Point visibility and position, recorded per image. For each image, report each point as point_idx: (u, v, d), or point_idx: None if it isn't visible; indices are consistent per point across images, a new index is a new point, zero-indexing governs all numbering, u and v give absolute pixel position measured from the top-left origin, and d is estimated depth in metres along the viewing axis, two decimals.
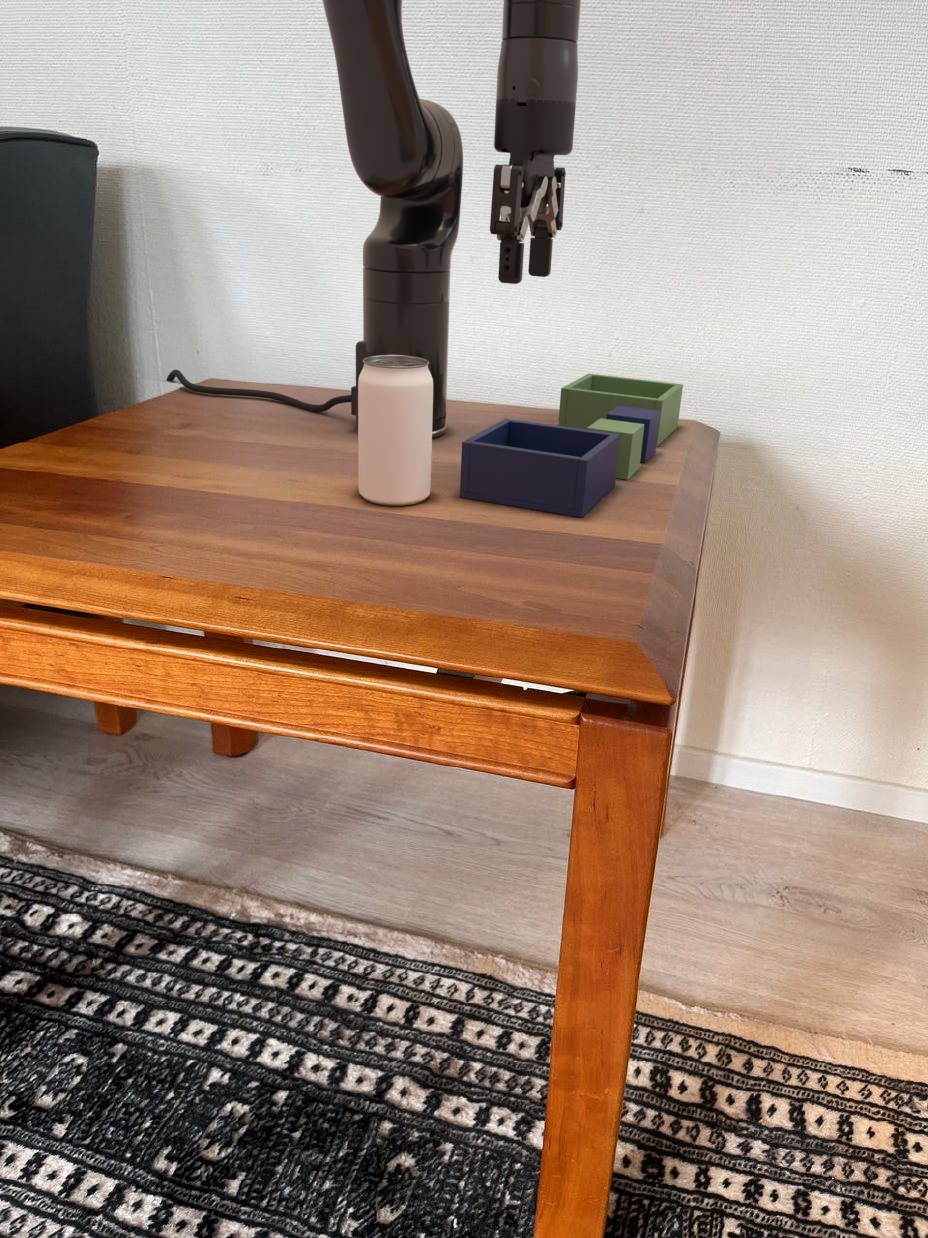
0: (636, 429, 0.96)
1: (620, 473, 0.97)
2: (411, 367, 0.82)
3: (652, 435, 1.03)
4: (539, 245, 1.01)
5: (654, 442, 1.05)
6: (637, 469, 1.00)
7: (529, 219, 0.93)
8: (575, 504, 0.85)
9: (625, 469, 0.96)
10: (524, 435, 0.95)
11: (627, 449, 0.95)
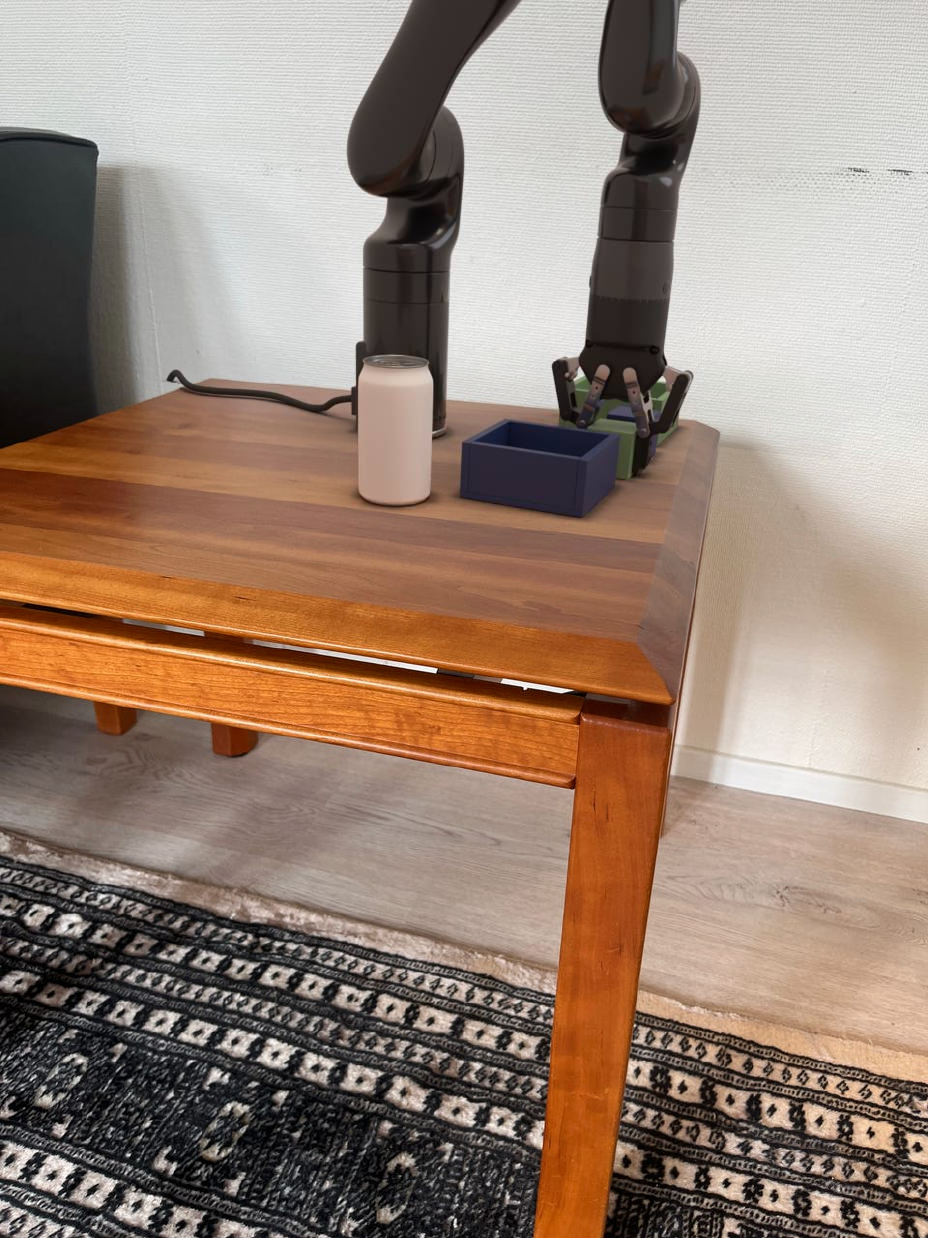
0: (636, 429, 0.96)
1: (620, 473, 0.97)
2: (411, 367, 0.82)
3: None
4: None
5: (654, 442, 1.05)
6: None
7: (590, 408, 0.96)
8: (575, 504, 0.85)
9: (625, 469, 0.96)
10: (524, 435, 0.95)
11: (627, 449, 0.95)
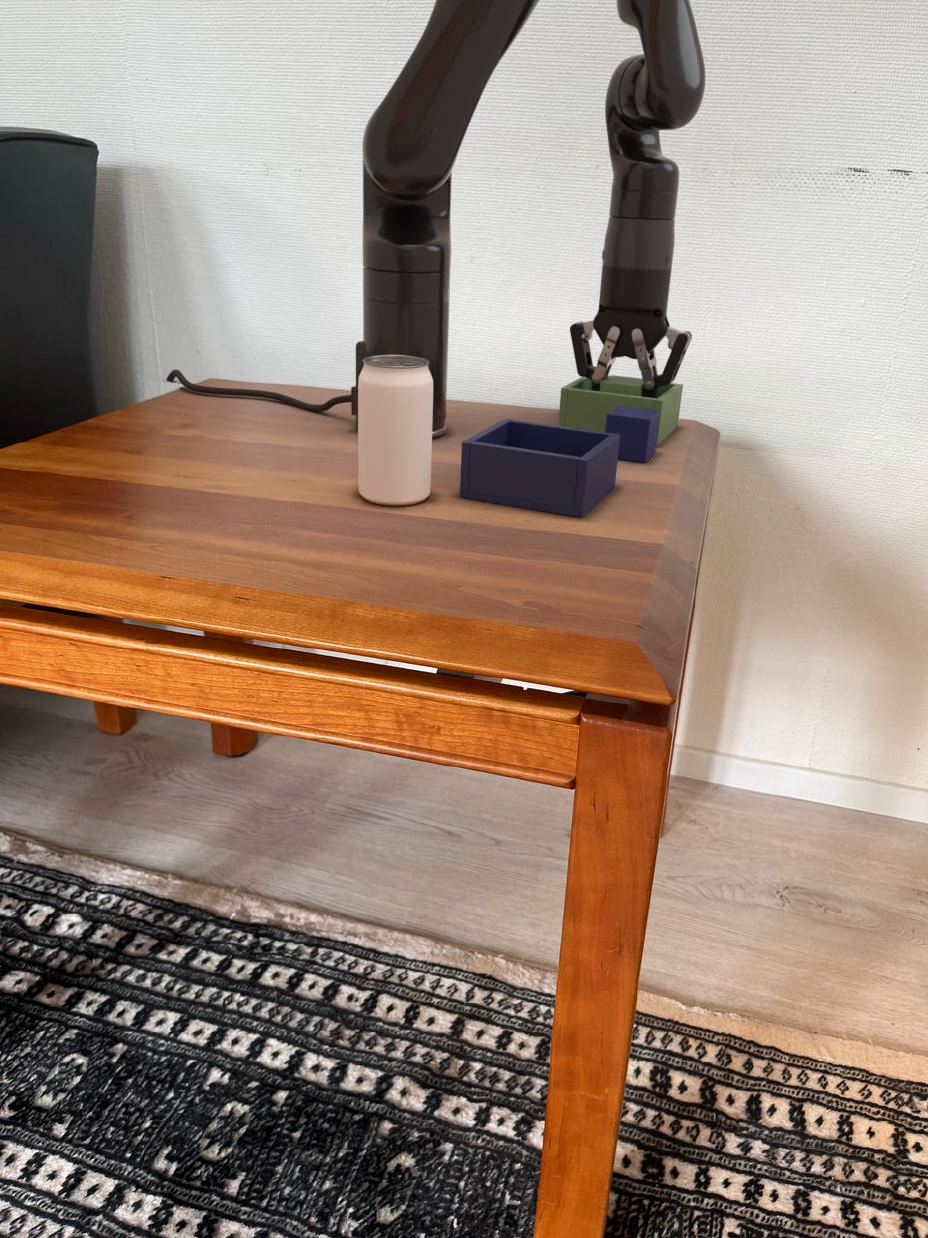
0: None
1: None
2: (411, 367, 0.82)
3: (652, 435, 1.03)
4: None
5: (654, 442, 1.05)
6: None
7: (603, 364, 1.12)
8: (575, 504, 0.85)
9: None
10: (524, 435, 0.95)
11: None
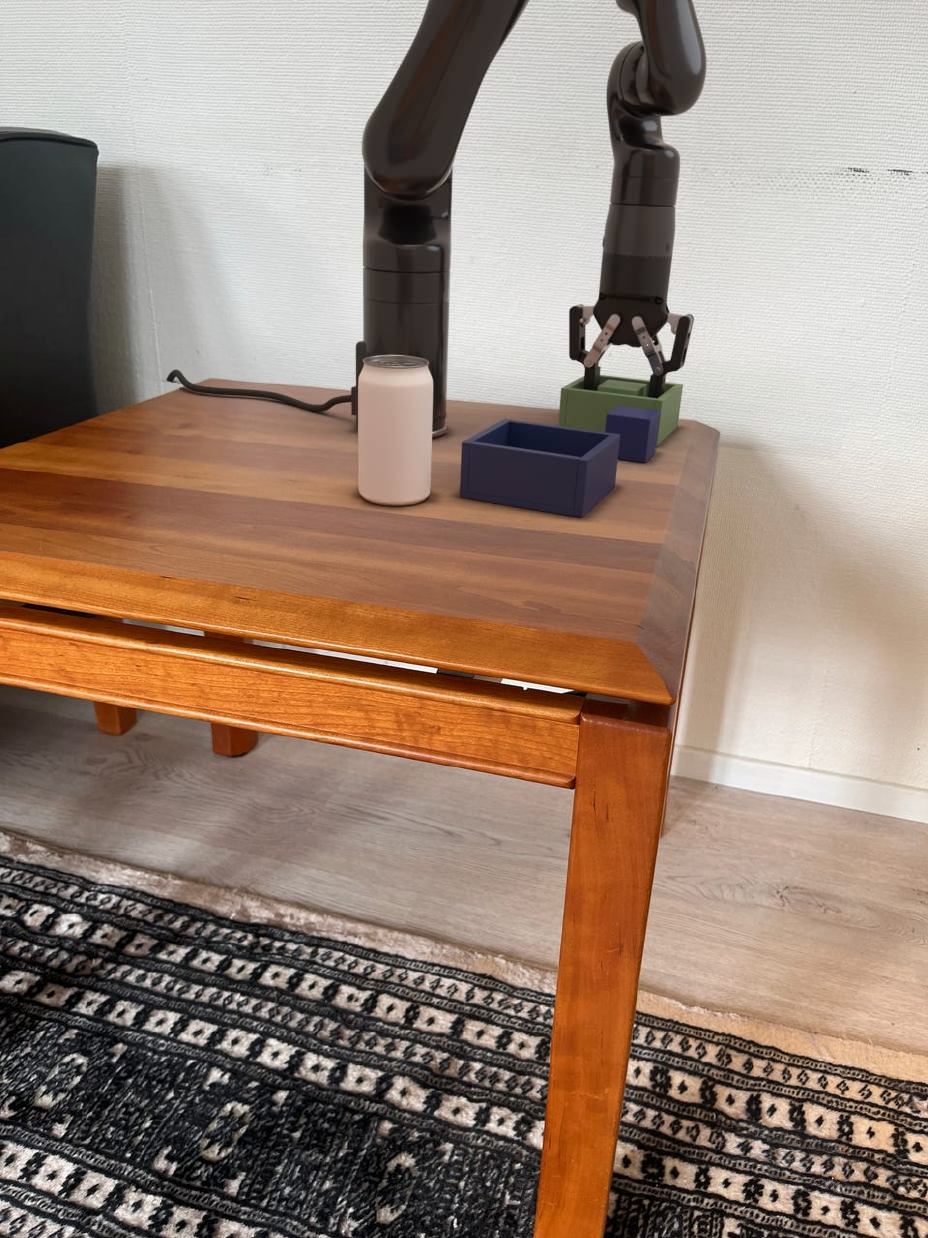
0: (640, 387, 1.12)
1: None
2: (411, 367, 0.82)
3: (652, 435, 1.03)
4: None
5: (654, 442, 1.05)
6: None
7: (597, 350, 1.12)
8: (575, 504, 0.85)
9: None
10: (524, 435, 0.95)
11: None
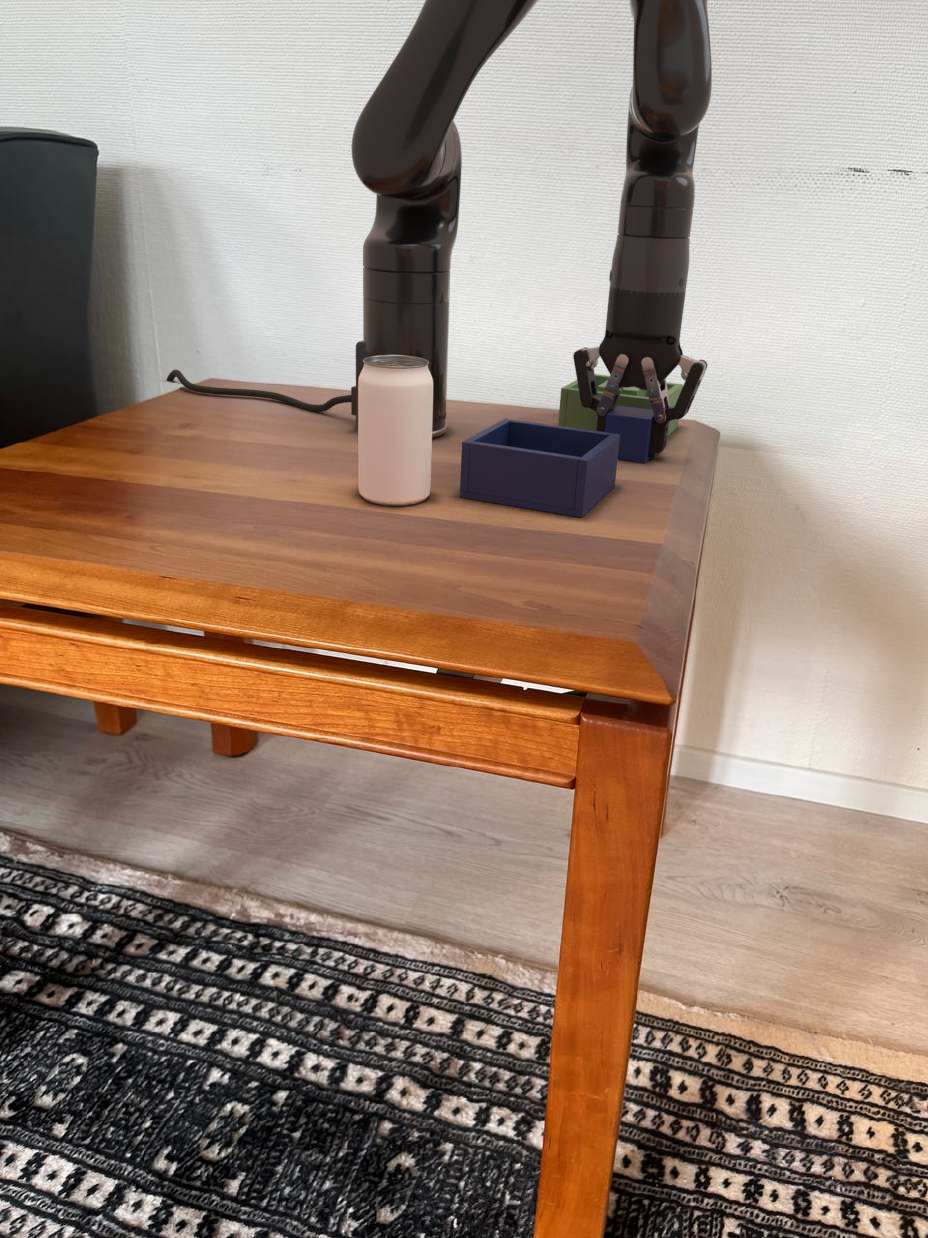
0: None
1: None
2: (411, 367, 0.82)
3: None
4: None
5: None
6: None
7: (609, 395, 1.02)
8: (575, 504, 0.85)
9: None
10: (524, 435, 0.95)
11: None
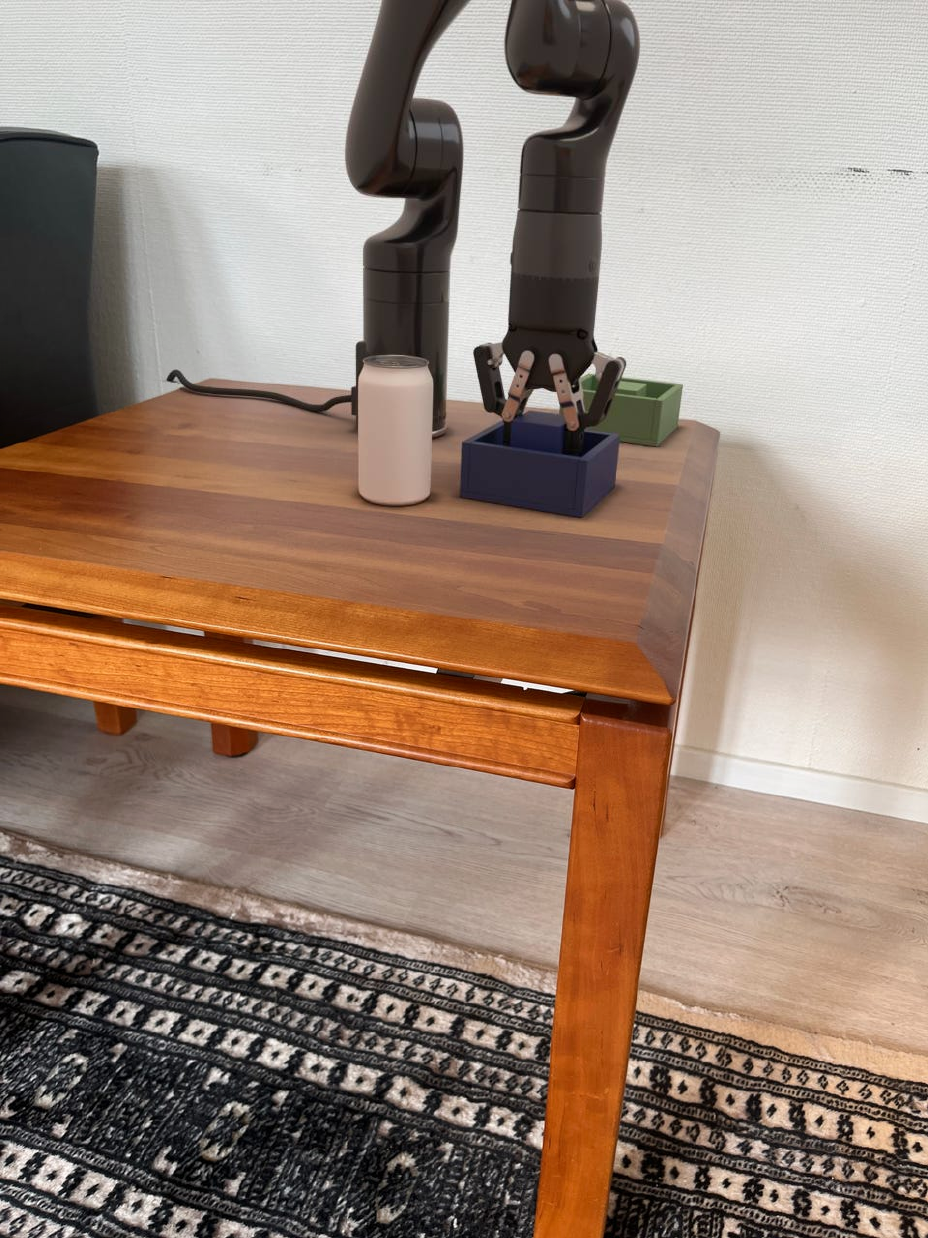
0: (640, 387, 1.12)
1: None
2: (411, 367, 0.82)
3: None
4: None
5: None
6: None
7: (515, 398, 0.88)
8: (575, 504, 0.85)
9: None
10: None
11: None
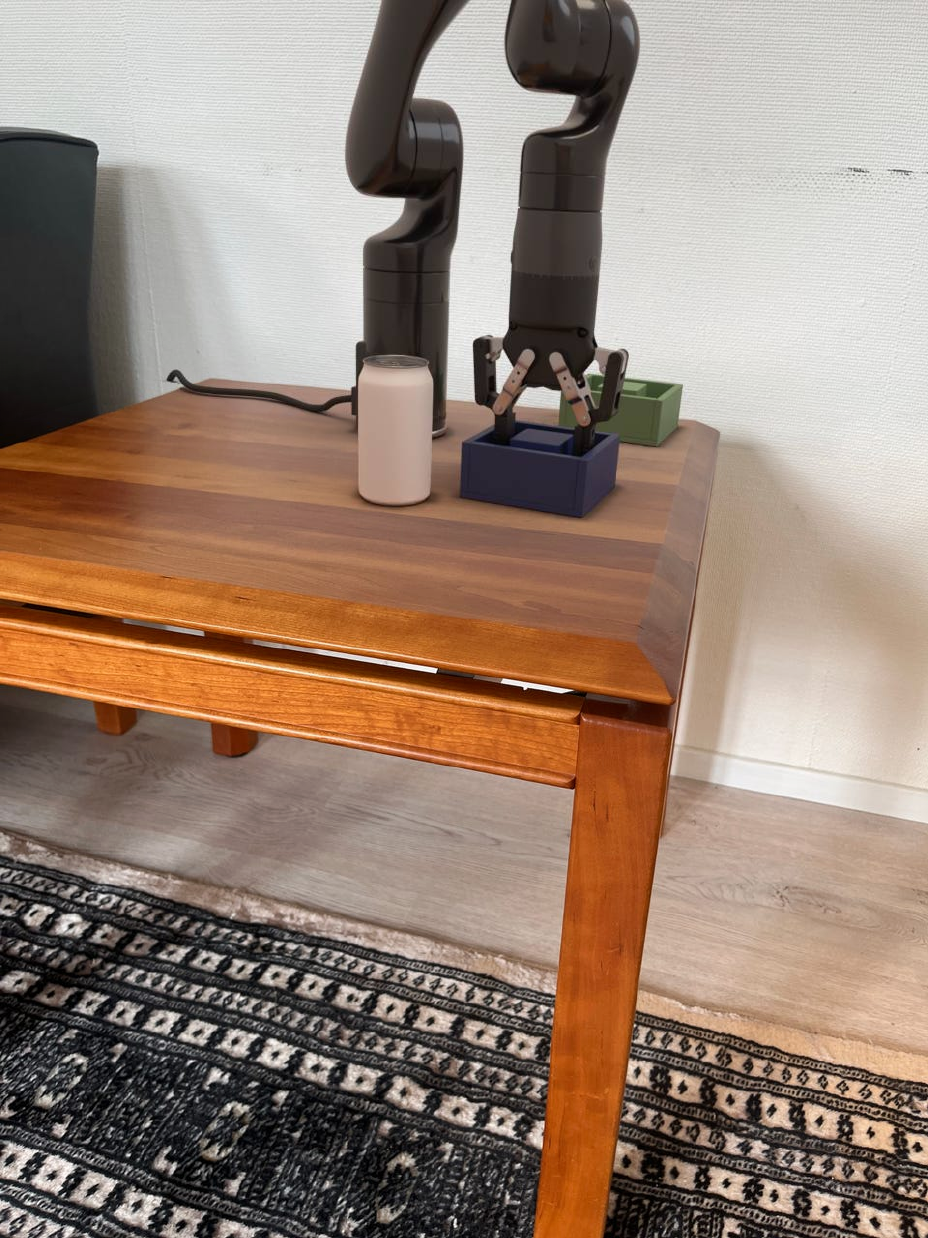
0: (640, 387, 1.12)
1: None
2: (411, 367, 0.82)
3: None
4: None
5: None
6: None
7: (509, 393, 0.88)
8: (575, 504, 0.85)
9: None
10: None
11: None
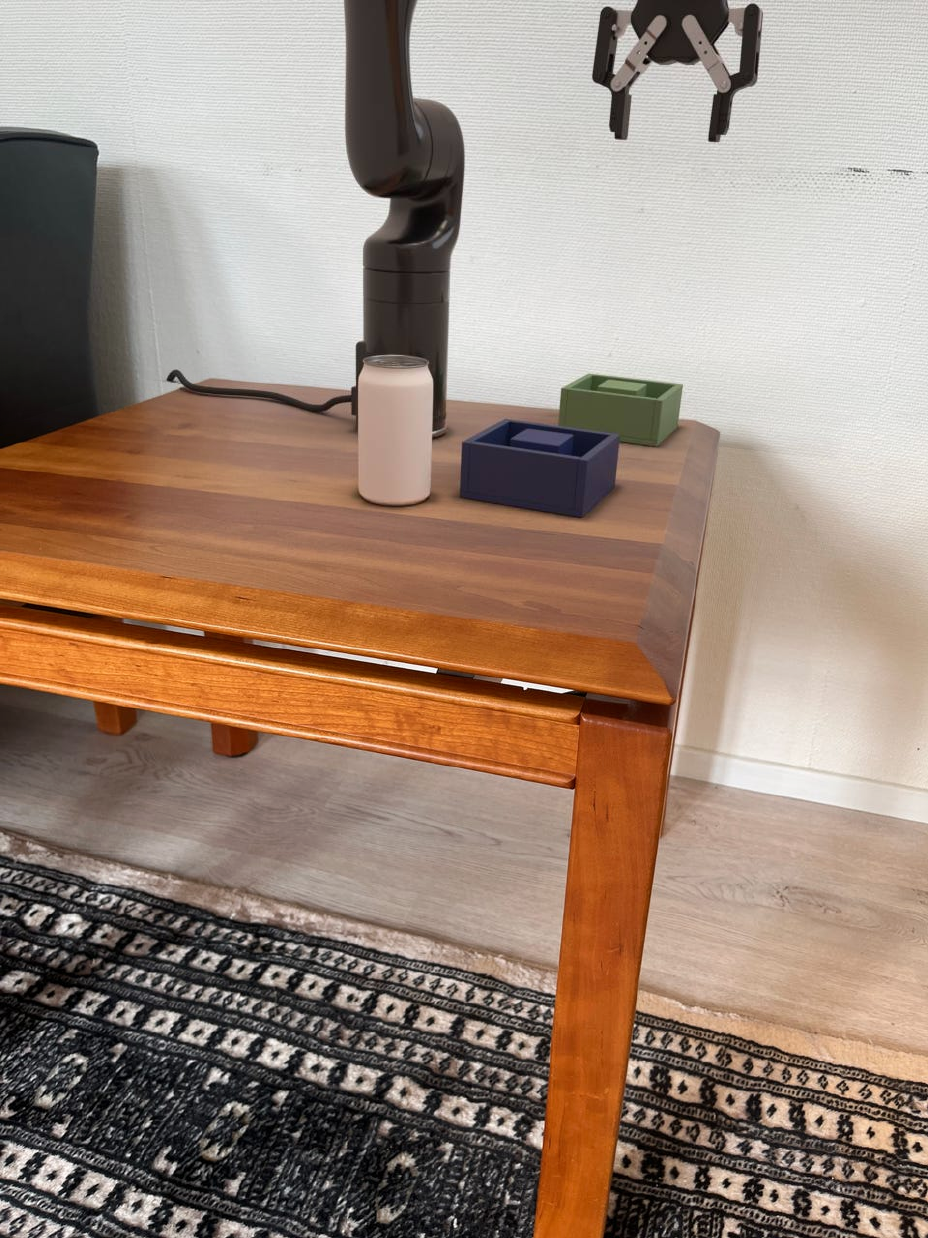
0: (640, 387, 1.12)
1: None
2: (411, 367, 0.82)
3: None
4: None
5: None
6: None
7: (631, 66, 0.87)
8: (575, 504, 0.85)
9: None
10: None
11: None
